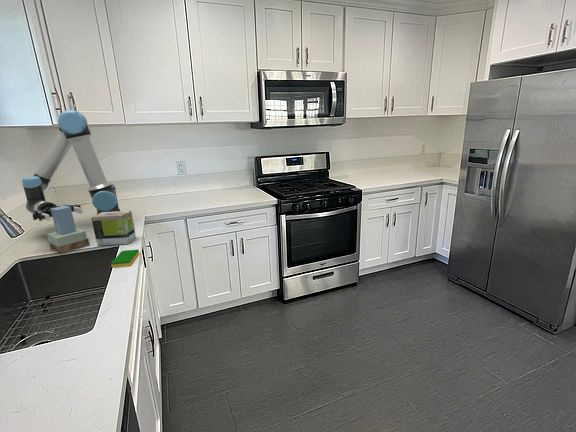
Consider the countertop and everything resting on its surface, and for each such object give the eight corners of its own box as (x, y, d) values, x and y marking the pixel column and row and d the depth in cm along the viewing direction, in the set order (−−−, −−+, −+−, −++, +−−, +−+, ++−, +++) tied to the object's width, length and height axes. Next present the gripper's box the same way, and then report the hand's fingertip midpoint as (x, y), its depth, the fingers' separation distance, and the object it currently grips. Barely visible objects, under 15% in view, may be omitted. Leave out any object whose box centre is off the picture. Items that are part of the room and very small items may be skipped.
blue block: (70, 229, 155) (64, 205, 152) (76, 231, 152) (70, 207, 149) (56, 233, 150) (50, 208, 147) (62, 234, 147) (56, 210, 144)
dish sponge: (111, 268, 128) (110, 263, 127) (122, 255, 141) (121, 250, 141) (130, 267, 129) (129, 261, 129) (139, 254, 142) (138, 249, 142)
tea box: (136, 237, 163) (131, 210, 159) (127, 244, 153) (122, 215, 149) (107, 239, 163) (101, 211, 159) (96, 246, 153) (90, 216, 149)
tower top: (76, 234, 160) (74, 227, 159) (87, 238, 153) (85, 231, 152) (48, 241, 150) (46, 234, 149) (58, 246, 144) (56, 238, 143)
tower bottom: (78, 242, 161) (76, 234, 160) (89, 246, 155) (88, 238, 154) (51, 249, 152) (49, 241, 151) (62, 254, 145) (60, 246, 144)
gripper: (74, 210, 170) (94, 215, 159) (17, 222, 150) (36, 229, 139) (71, 196, 168) (91, 200, 157) (13, 207, 148) (31, 212, 137)
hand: (65, 214), depth 148 cm, fingers open, 13 cm apart
